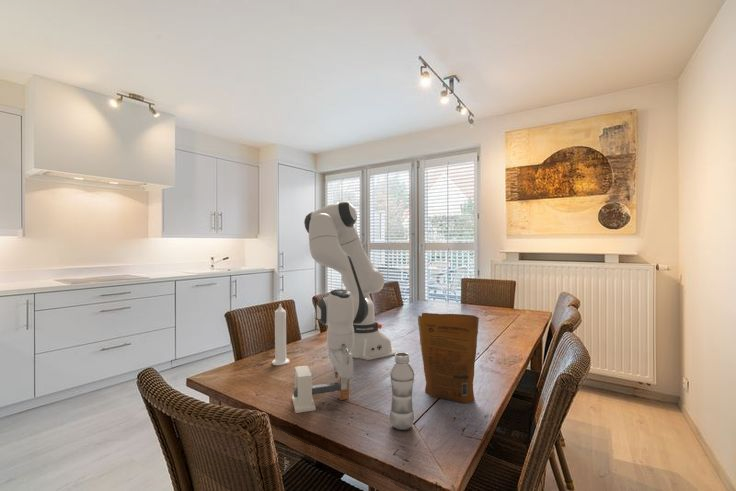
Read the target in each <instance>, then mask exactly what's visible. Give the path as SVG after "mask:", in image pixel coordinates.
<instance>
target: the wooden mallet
mask: <svg viewBox="0 0 736 491" xmlns="http://www.w3.org/2000/svg"><path fill="white" fill-rule="evenodd" d="M340 382H341V377H340V376H339V374H338V378H337V382H329V383H323V384H316V385H314V384H313V385H312V396H313V395H319V394H327V393H333V392H337V397H338V399H339V401H343V400H349V399H350V379H348V382H347V389H344V390H342V389H341V387H340ZM292 389H293V390H292V391H293V392H292V393H293V395H294V397H298V388H295V387H294V388H292Z"/></svg>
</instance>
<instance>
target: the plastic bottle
mask: <svg viewBox="0 0 736 491" xmlns="http://www.w3.org/2000/svg"><path fill="white" fill-rule="evenodd" d="M409 355H410V354H409V353H407V352H396V354H395V355H394V362H395V364H394V365H393V367H392V368H391V370H390V373H389V374H390V383H391V384H390V385H391V392H392V394H391V396H392V397H391V409H390V411H389V412H390V413H389V421H390V424H391V426H392V427H393V428H394V429H396V430H398V431H399V430H400V431H402V430H403V431H405V430H409V429H410V428H411V427H412V426H413V425H414V422H415V421H414V420H415V415H414V410H413V399H412V398H413V386H414V380H415V372H414V369H413V367H412V366H411V365H410V364H409V363H410V356H409Z"/></svg>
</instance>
